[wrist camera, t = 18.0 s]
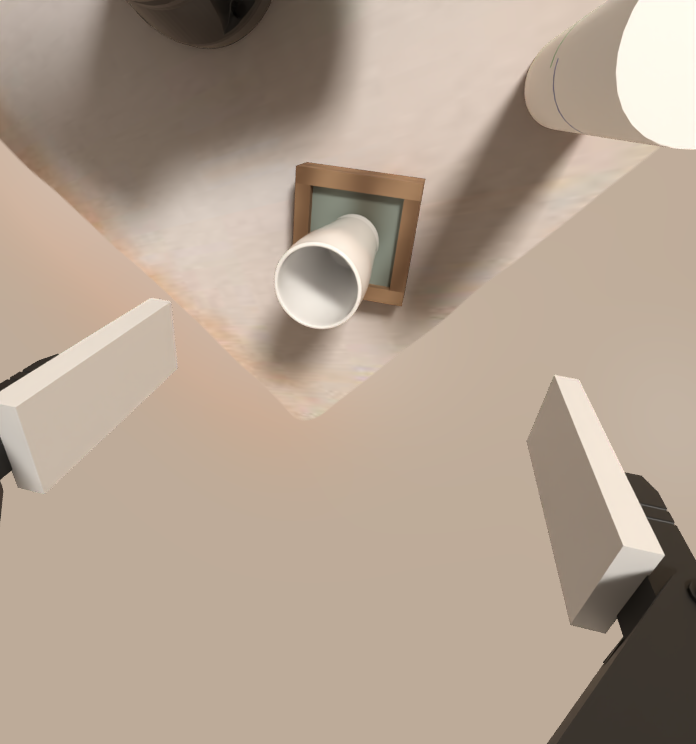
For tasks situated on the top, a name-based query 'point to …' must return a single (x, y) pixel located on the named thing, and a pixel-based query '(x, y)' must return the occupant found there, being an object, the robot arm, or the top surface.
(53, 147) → the top surface
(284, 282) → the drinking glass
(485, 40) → the top surface
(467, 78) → the top surface
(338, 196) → the wooden tray
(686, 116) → the cylindrical container
